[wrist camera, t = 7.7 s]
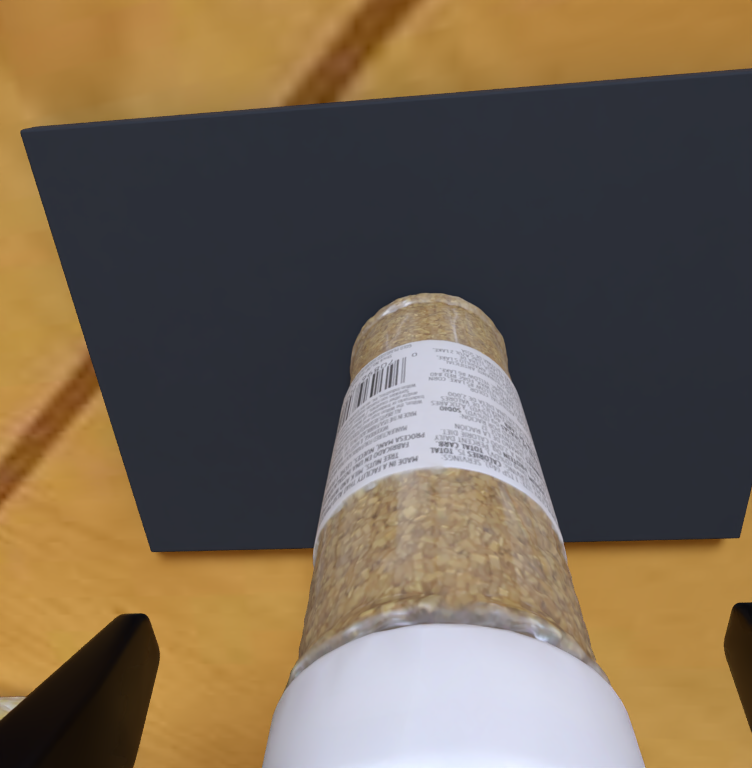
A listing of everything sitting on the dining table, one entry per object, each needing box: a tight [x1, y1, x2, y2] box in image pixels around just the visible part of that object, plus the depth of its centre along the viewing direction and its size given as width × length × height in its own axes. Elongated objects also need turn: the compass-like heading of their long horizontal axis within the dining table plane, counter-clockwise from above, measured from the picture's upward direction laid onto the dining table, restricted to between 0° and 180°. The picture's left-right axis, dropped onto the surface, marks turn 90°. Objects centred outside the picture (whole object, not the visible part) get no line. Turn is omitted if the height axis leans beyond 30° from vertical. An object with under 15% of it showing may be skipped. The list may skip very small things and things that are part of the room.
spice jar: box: [262, 293, 645, 768], centre depth 12 cm, size 5×5×13 cm
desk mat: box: [20, 68, 752, 552], centre depth 19 cm, size 14×20×1 cm
